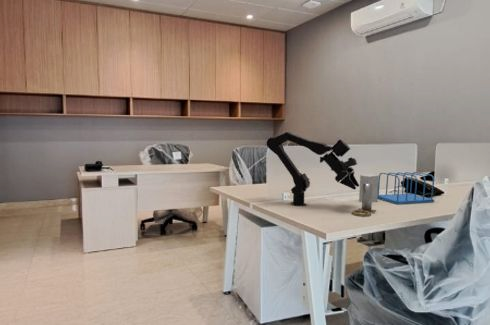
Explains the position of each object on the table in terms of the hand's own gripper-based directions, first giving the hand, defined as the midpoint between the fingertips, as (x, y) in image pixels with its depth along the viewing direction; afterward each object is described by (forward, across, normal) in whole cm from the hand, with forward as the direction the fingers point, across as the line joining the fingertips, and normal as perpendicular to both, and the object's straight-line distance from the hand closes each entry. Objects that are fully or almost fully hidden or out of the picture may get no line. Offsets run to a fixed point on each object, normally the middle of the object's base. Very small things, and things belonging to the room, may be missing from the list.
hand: (357, 187), depth 167 cm
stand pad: (+11, 0, +5) cm, 12 cm away
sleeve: (+11, 0, +4) cm, 12 cm away
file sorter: (+22, +41, -5) cm, 47 cm away
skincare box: (+10, +25, +7) cm, 28 cm away
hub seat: (+10, -9, +6) cm, 15 cm away
